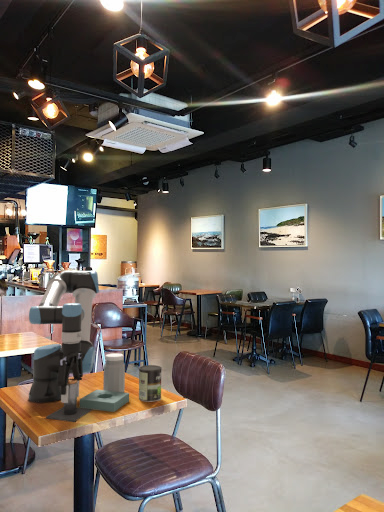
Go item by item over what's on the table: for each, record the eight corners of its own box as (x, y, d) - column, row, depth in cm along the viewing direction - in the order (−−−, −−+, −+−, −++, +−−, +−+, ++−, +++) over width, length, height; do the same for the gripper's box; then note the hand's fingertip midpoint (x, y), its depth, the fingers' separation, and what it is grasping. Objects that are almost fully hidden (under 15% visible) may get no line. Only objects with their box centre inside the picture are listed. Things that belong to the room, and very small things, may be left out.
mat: (45, 418, 158) (45, 416, 158) (65, 407, 170) (65, 405, 170) (75, 422, 154) (75, 420, 154) (92, 410, 167) (92, 409, 167)
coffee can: (163, 396, 187) (164, 365, 187) (157, 403, 177) (158, 371, 177) (142, 394, 189) (143, 364, 189) (135, 401, 179) (135, 369, 179)
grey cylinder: (61, 414, 161) (61, 381, 161) (68, 410, 166) (68, 378, 166) (72, 415, 159) (72, 382, 160) (79, 411, 164) (79, 379, 165)
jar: (99, 395, 187) (99, 356, 188) (110, 389, 196) (111, 352, 197) (117, 397, 184) (117, 358, 184) (128, 391, 193) (128, 353, 193)
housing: (79, 408, 169) (79, 399, 169) (96, 398, 183) (96, 389, 183) (114, 413, 165) (114, 403, 165) (128, 402, 178) (129, 393, 178)
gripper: (65, 347, 153) (63, 408, 152) (92, 338, 172) (91, 393, 171) (48, 345, 155) (46, 406, 154) (76, 337, 174) (75, 391, 173)
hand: (70, 399), depth 163 cm, fingers open, 7 cm apart
